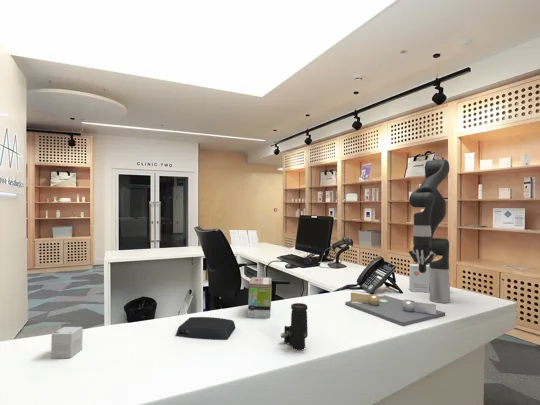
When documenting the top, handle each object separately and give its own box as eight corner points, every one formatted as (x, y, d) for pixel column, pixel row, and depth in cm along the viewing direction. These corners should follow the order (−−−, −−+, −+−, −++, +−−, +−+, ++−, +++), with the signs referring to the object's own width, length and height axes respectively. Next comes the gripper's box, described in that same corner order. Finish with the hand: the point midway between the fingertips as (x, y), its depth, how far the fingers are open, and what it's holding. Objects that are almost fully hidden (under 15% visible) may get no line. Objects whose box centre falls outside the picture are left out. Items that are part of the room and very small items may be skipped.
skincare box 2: (411, 292, 180) (411, 265, 181) (408, 289, 185) (408, 263, 186) (449, 294, 177) (449, 266, 177) (446, 291, 182) (445, 265, 183)
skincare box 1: (82, 349, 97) (83, 326, 97) (70, 358, 90) (71, 333, 91) (63, 349, 96) (64, 326, 97) (49, 358, 90) (51, 333, 91)
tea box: (270, 318, 129) (271, 283, 130) (247, 318, 129) (248, 283, 130) (271, 308, 144) (271, 276, 145) (250, 307, 144) (250, 276, 145)
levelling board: (385, 298, 165) (385, 293, 165) (445, 315, 136) (445, 310, 136) (345, 304, 151) (345, 300, 151) (403, 326, 122) (402, 320, 122)
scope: (299, 299, 109) (316, 306, 100) (299, 338, 108) (316, 349, 99) (280, 302, 105) (295, 310, 96) (279, 342, 104) (295, 354, 95)
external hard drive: (189, 325, 121) (189, 314, 121) (236, 328, 118) (236, 318, 118) (174, 338, 108) (174, 326, 108) (226, 342, 105) (227, 330, 105)
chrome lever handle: (402, 310, 137) (402, 301, 137) (403, 307, 141) (403, 299, 142) (436, 315, 130) (436, 306, 131) (436, 312, 135) (436, 303, 135)
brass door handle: (380, 303, 148) (380, 295, 148) (378, 306, 143) (378, 297, 144) (352, 299, 154) (352, 291, 154) (349, 301, 150) (349, 293, 150)
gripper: (440, 235, 137) (441, 274, 136) (414, 234, 148) (414, 269, 148) (430, 236, 133) (431, 276, 132) (404, 234, 145) (404, 270, 144)
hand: (422, 272), depth 140 cm, fingers closed
